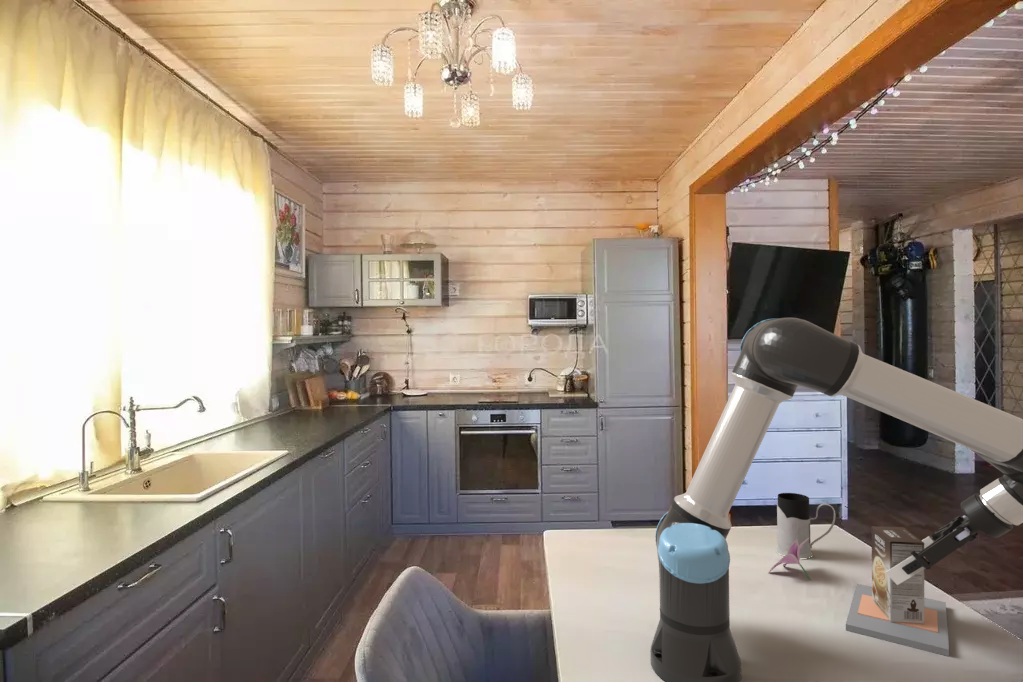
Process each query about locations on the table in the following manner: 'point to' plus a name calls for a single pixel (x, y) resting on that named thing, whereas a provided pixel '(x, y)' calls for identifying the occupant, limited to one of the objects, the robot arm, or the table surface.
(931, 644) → the slate plate
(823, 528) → the table surface
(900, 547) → the coffee box
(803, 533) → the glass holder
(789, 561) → the lily
